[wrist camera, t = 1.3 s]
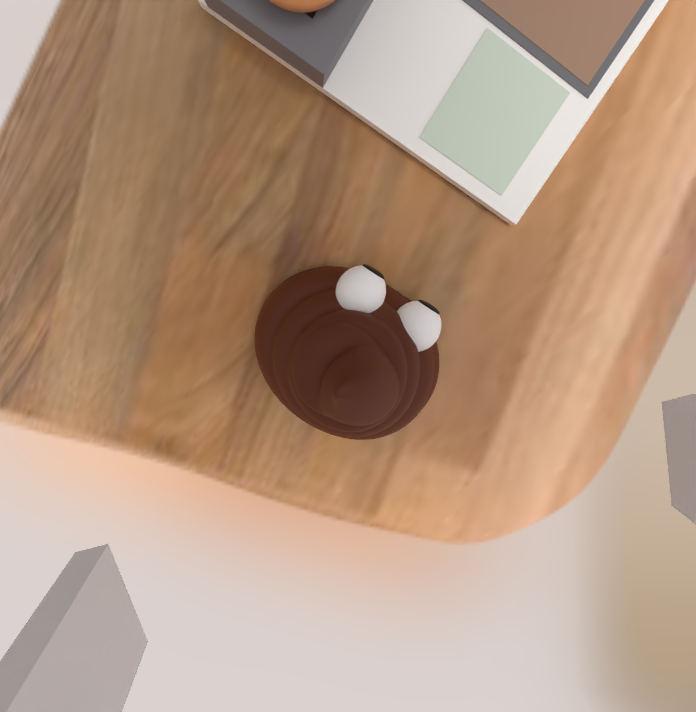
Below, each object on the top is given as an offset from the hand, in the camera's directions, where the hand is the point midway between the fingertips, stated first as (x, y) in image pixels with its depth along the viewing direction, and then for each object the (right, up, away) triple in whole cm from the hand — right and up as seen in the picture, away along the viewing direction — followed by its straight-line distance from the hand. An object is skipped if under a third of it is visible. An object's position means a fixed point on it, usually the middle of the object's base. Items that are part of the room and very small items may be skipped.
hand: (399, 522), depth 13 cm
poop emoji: (-1, +4, +17) cm, 18 cm away
